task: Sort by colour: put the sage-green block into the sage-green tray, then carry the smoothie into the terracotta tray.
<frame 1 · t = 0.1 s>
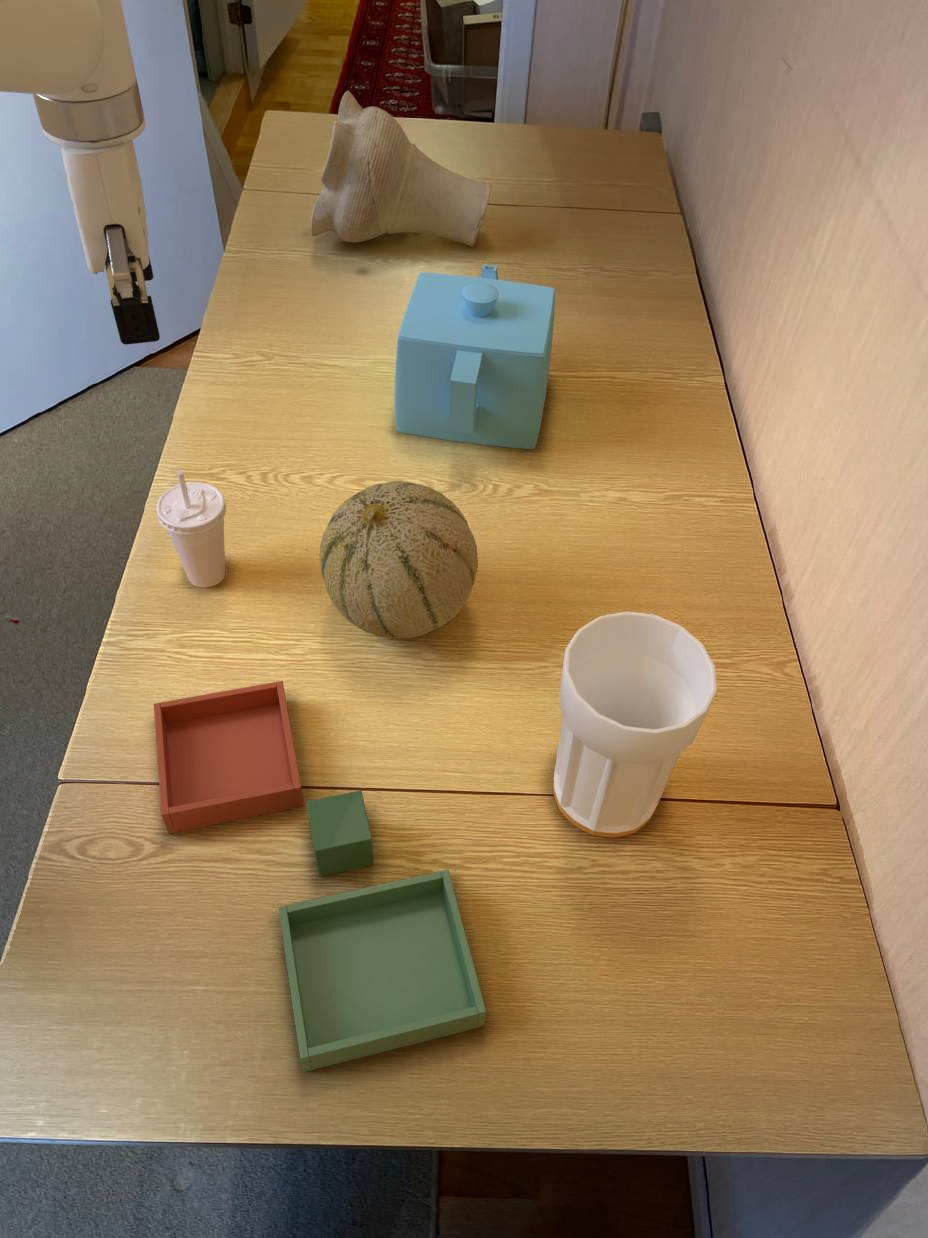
hand: (138, 309, 87), 24 cm above the table, tool pointing down, fingers open, 9 cm apart
cup: (604, 792, 85), on the table
vase: (407, 244, 143), on the table
cantaloupe: (399, 611, 97), on the table
terracotta tray: (230, 763, 85), on the table
smoothie: (207, 575, 99), on the table
green block: (341, 846, 80), on the table
container: (474, 402, 120), on the table
green tray: (380, 973, 74), on the table
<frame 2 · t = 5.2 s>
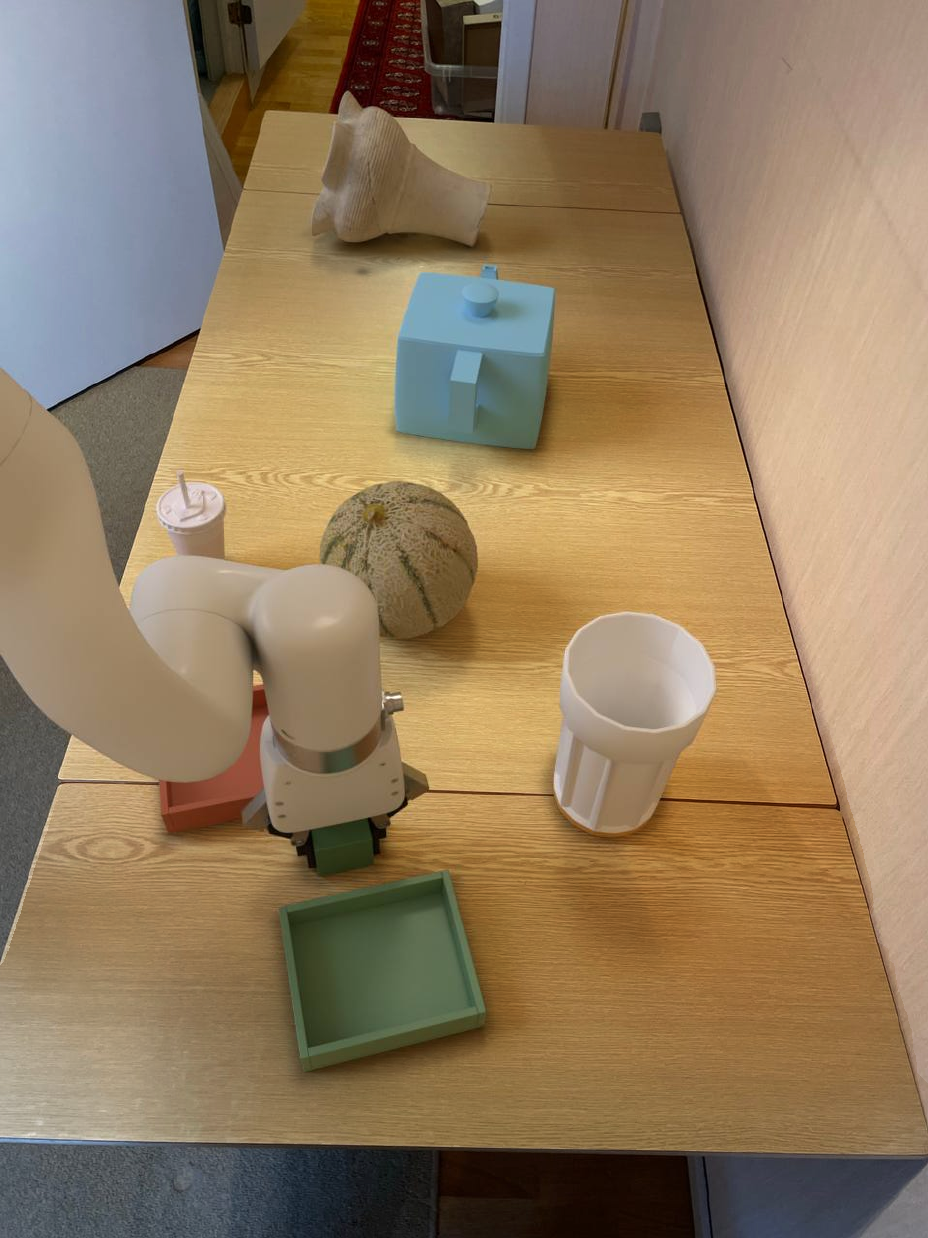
hand: (341, 844, 80), 0 cm above the table, tool pointing down, fingers closed on green block, 4 cm apart
green block: (341, 846, 80), on the table, touching gripper
everything else where it was.
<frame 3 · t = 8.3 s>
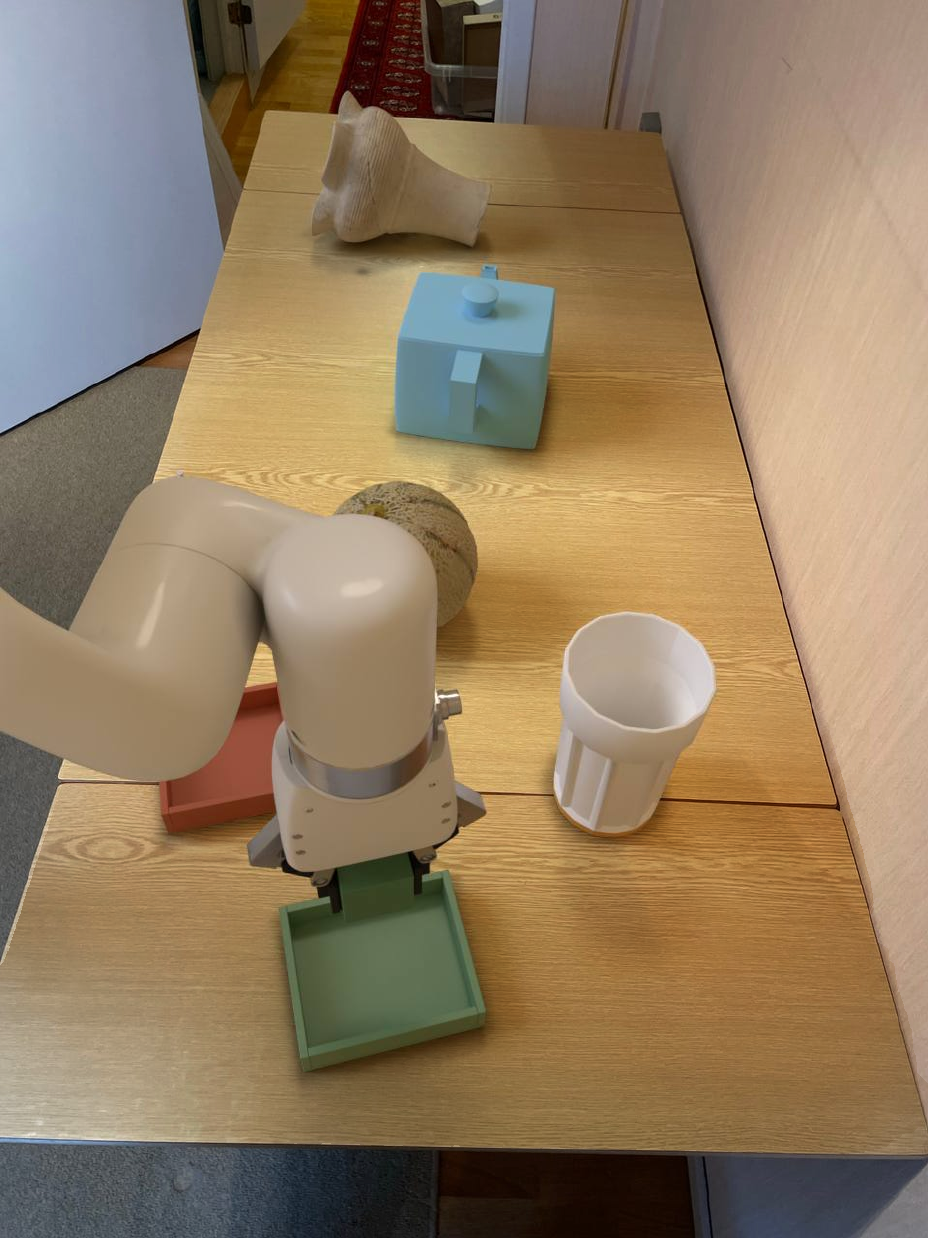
hand: (372, 882, 64), 14 cm above the table, tool pointing down, fingers closed on green block, 4 cm apart
green block: (373, 884, 64), point 13 cm above the table, touching gripper
everything else where it was.
when the fingers open (1 cm above the table, at t = 11.6 s): green block stays where it is, resting on green tray.
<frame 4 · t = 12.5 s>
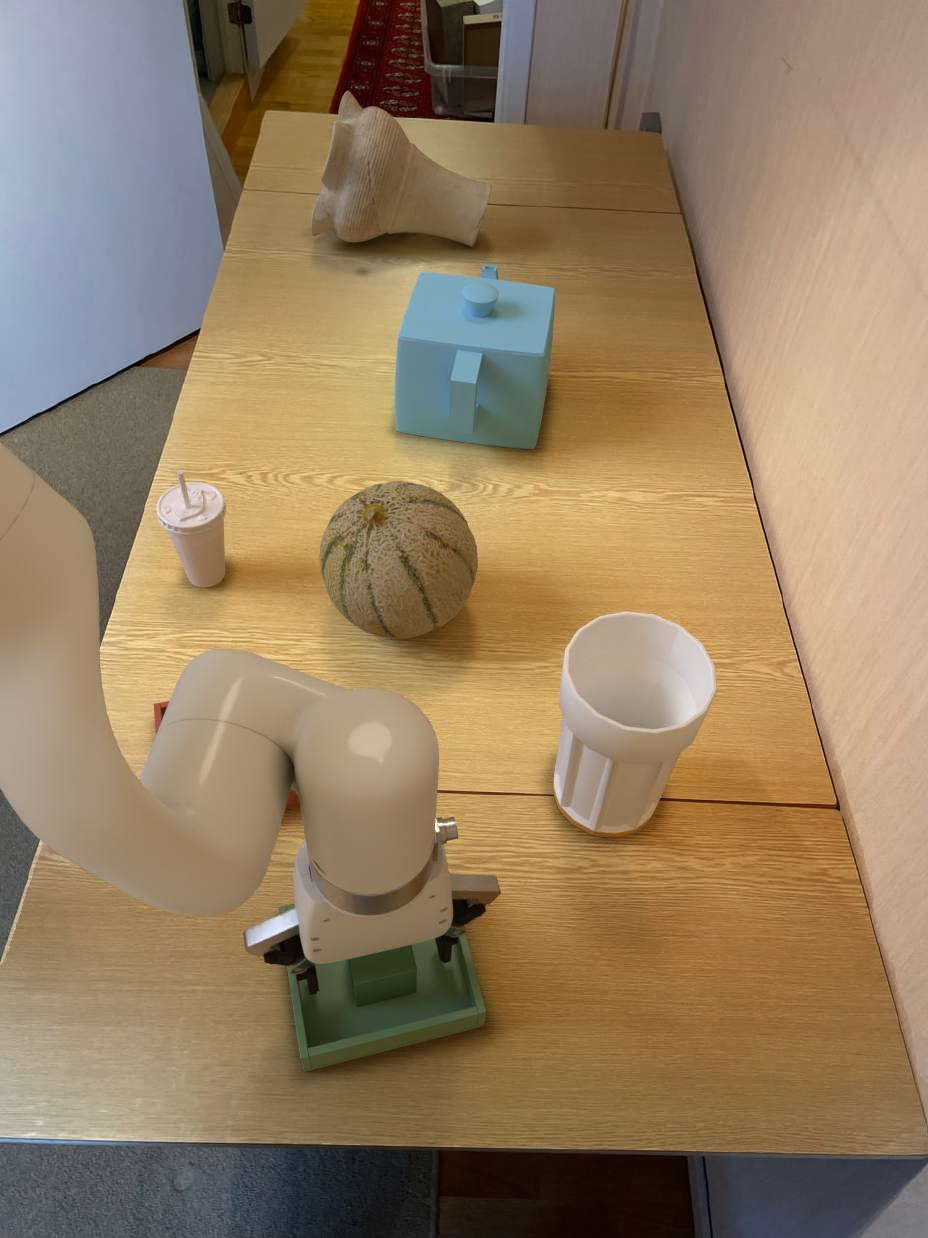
hand: (377, 958, 72), 3 cm above the table, tool pointing down, fingers open, 9 cm apart
green block: (380, 970, 73), point 1 cm above the table, touching green tray
everything else where it was.
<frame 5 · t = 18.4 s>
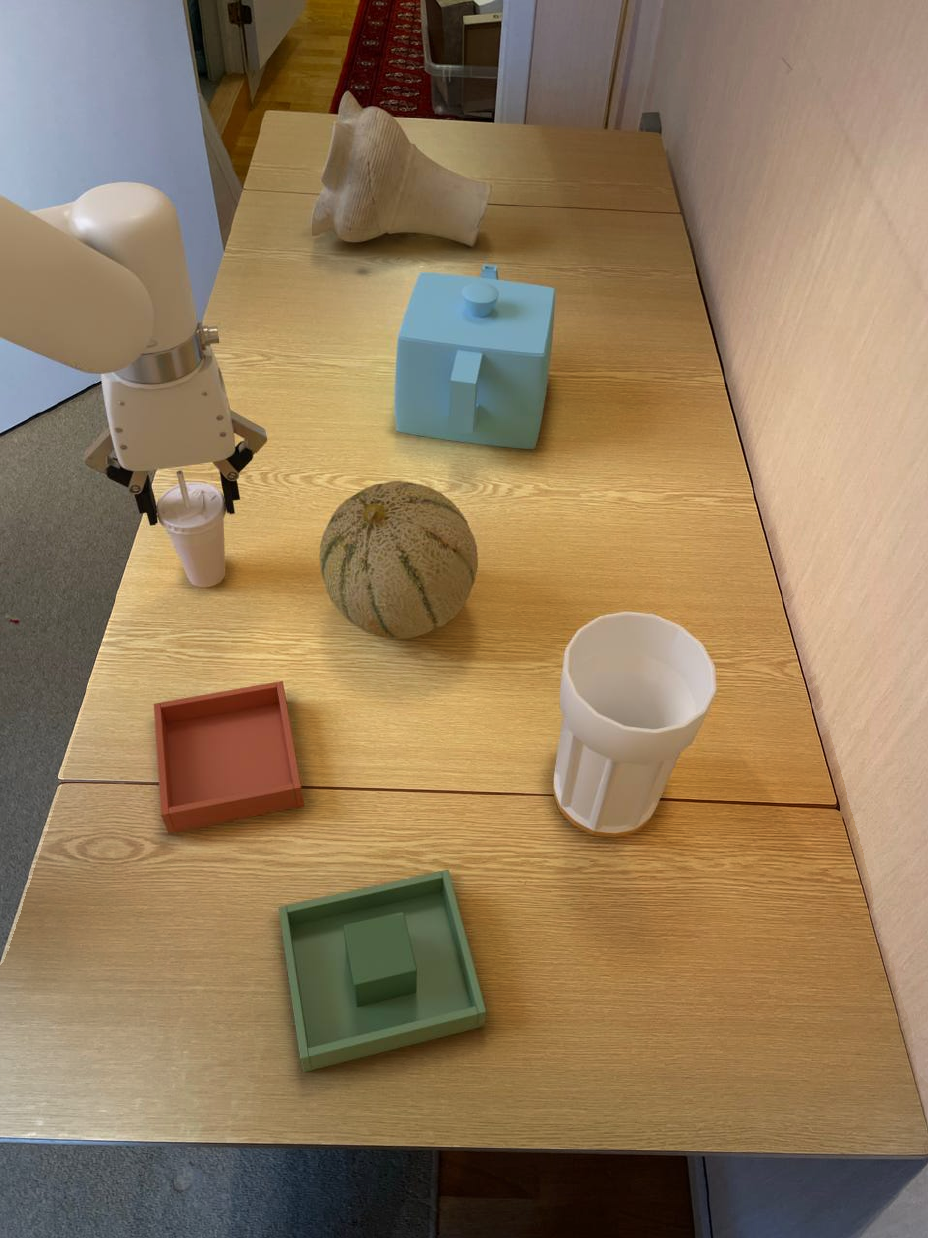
hand: (191, 508, 92), 9 cm above the table, tool pointing down, fingers closed on smoothie, 6 cm apart
smoothie: (207, 575, 99), on the table, touching gripper
everything else where it was.
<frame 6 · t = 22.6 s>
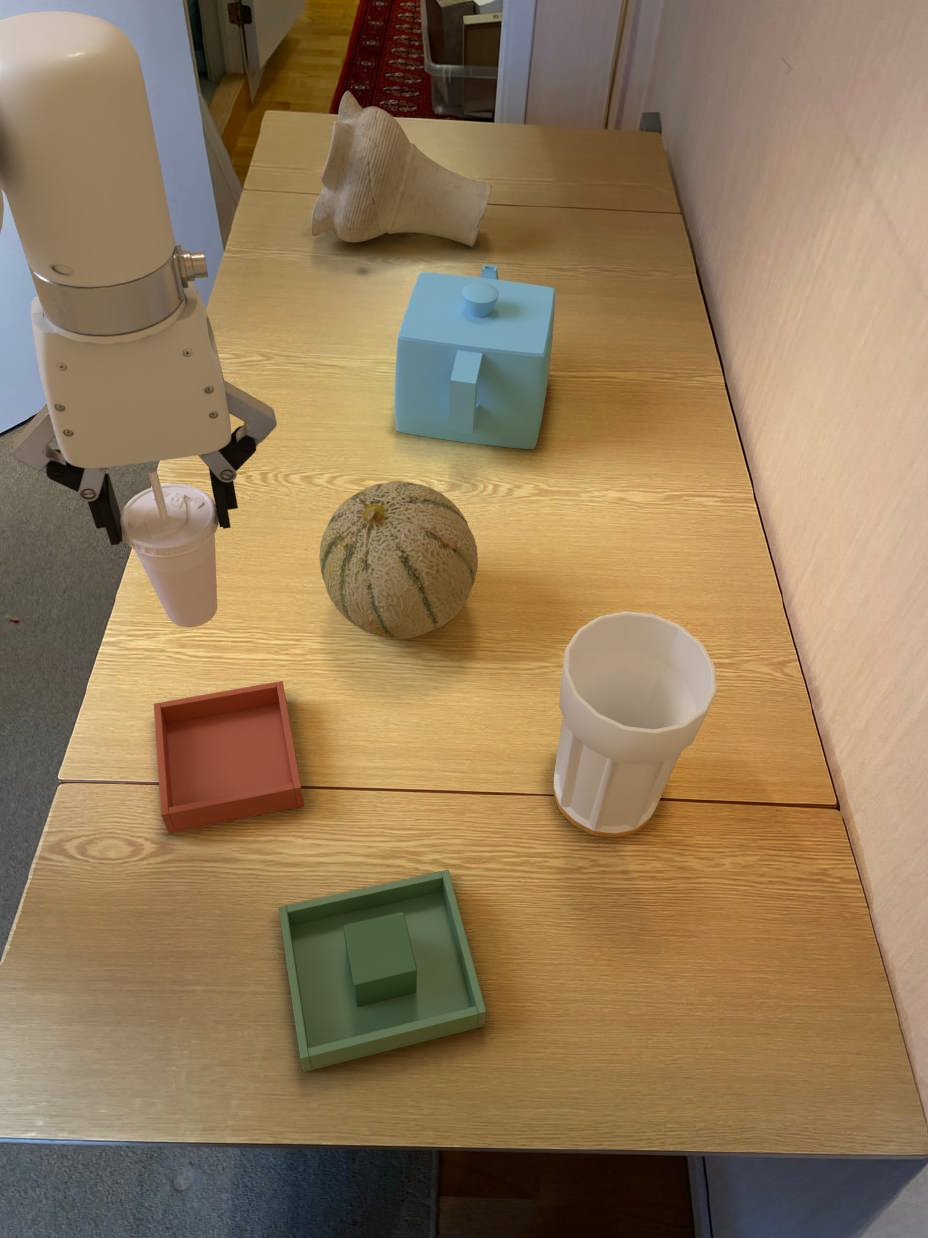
hand: (170, 520, 66), 27 cm above the table, tool pointing down, fingers closed on smoothie, 6 cm apart
smoothie: (192, 610, 73), point 18 cm above the table, touching gripper
everything else where it was.
when the fingers open (10 cm above the table, at t = 27.1 s): smoothie stays where it is, resting on terracotta tray.
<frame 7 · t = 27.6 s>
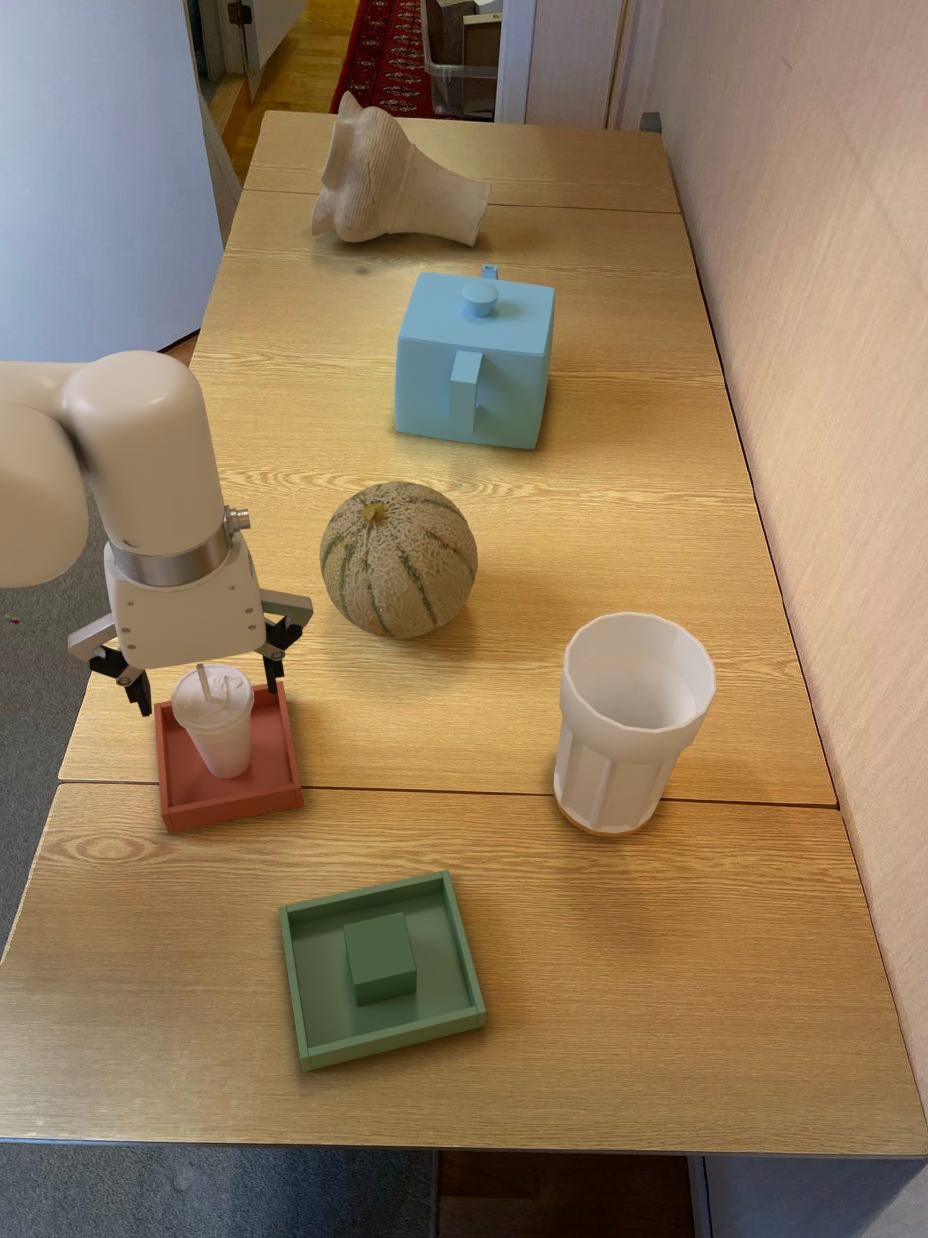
hand: (209, 690, 77), 11 cm above the table, tool pointing down, fingers open, 9 cm apart
smoothie: (229, 761, 85), resting on terracotta tray
everything else where it was.
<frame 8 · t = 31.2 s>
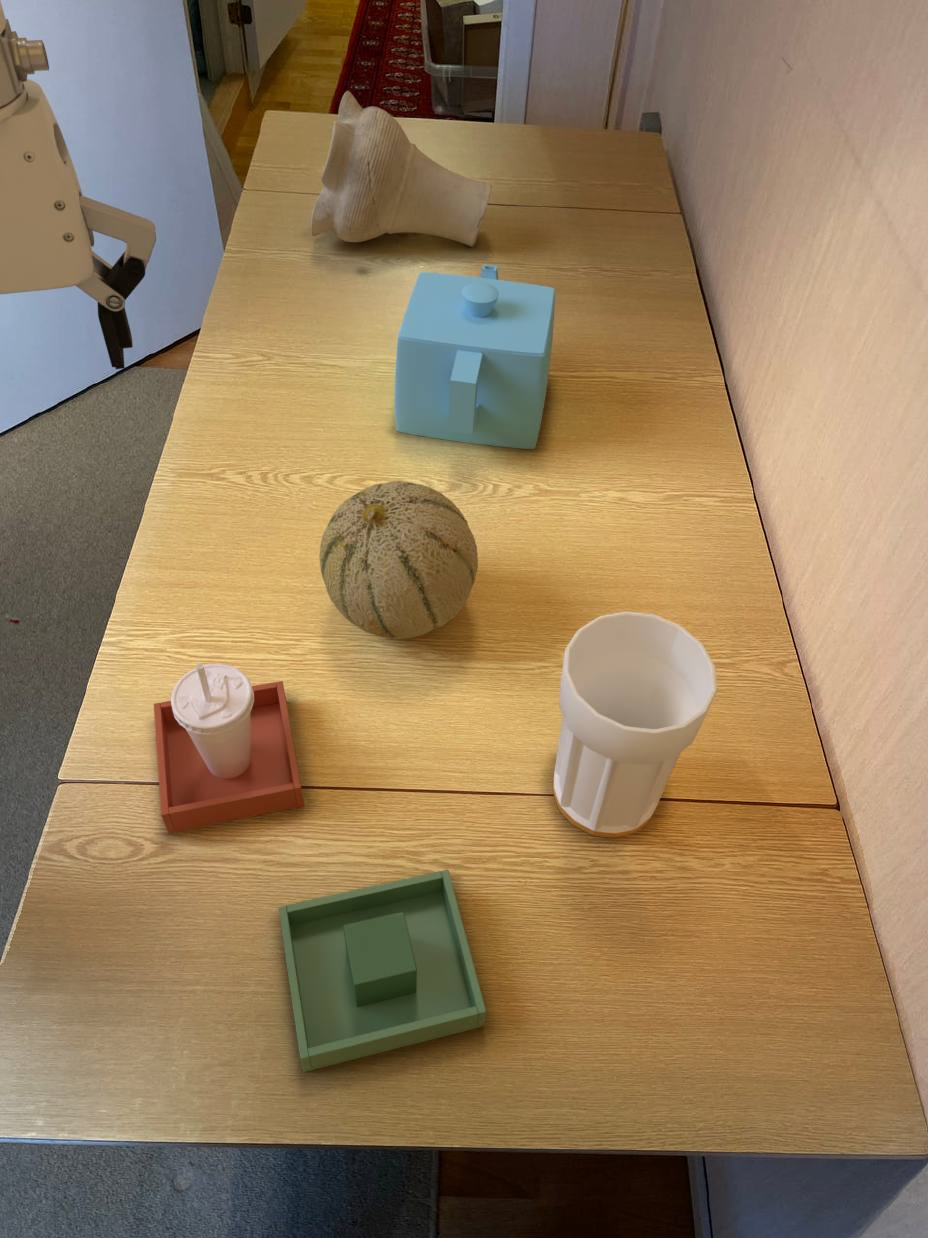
hand: (38, 365, 61), 36 cm above the table, tool pointing down, fingers open, 9 cm apart
nothing on the table moved.
at the end: green block inside the target area in the green tray (0.1 cm from its centre), point 0.6 cm above the green tray's base; smoothie inside the target area in the terracotta tray (0.0 cm from its centre), point 0.4 cm above the terracotta tray's base; smoothie tilted 0° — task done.
